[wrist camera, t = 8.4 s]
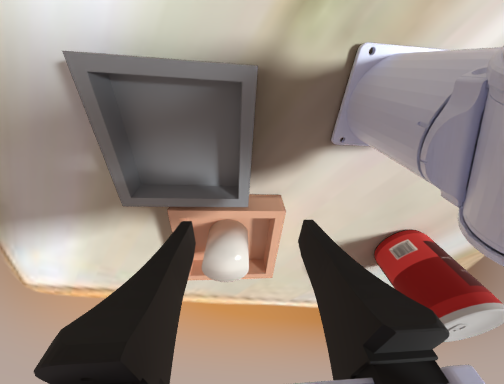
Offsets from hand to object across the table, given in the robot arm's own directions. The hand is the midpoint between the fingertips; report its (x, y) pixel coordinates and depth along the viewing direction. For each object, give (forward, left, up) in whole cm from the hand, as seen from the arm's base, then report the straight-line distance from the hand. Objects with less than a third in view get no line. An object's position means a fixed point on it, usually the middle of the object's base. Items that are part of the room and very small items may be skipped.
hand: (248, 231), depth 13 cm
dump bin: (+2, +9, -9) cm, 13 cm away
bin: (+6, -3, -9) cm, 11 cm away
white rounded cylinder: (+2, +9, -9) cm, 13 cm away
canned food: (-24, +13, -10) cm, 29 cm away
